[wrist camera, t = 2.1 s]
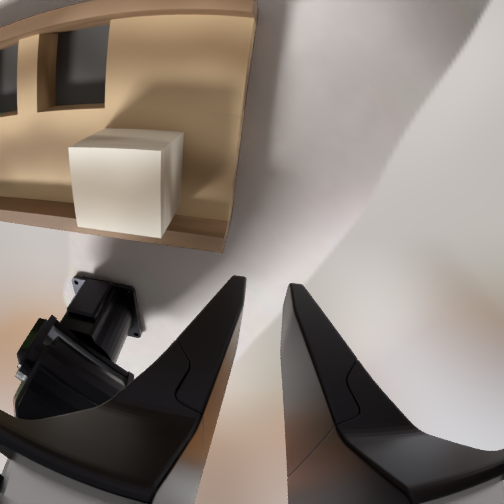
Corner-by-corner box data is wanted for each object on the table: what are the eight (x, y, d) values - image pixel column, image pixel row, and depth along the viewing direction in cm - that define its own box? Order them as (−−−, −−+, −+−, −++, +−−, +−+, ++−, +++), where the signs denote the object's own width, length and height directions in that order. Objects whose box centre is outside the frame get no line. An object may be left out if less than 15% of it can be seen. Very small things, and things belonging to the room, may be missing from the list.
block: (180, 204, 19) (161, 238, 15) (107, 196, 18) (77, 226, 15) (184, 131, 16) (161, 150, 13) (104, 128, 16) (68, 147, 13)
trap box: (231, 216, 22) (222, 253, 18) (-19, 191, 21) (-48, 213, 17) (258, 9, 14) (254, -8, 10) (-29, 51, 13) (-65, 60, 10)
